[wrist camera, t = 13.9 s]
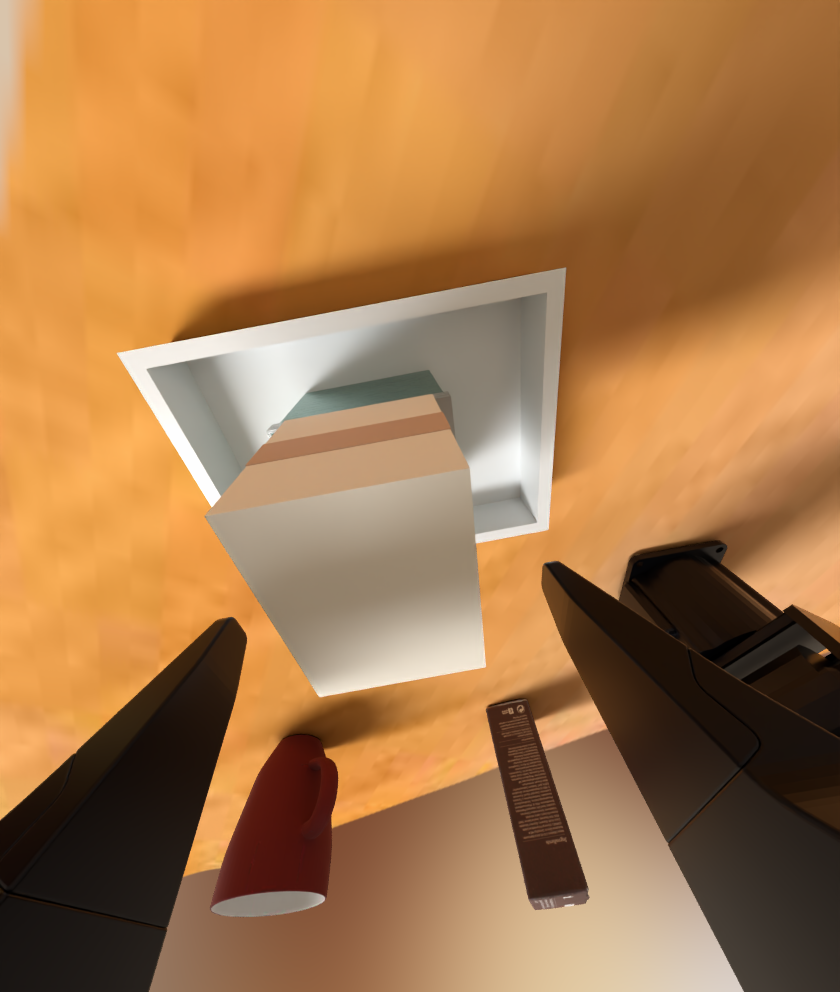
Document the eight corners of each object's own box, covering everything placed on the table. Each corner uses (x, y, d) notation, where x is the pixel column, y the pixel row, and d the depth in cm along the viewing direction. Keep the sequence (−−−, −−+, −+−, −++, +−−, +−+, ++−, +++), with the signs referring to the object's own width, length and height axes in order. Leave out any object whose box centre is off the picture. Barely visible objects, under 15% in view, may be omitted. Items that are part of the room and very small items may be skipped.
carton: (452, 545, 13) (486, 667, 8) (341, 565, 13) (318, 697, 9) (433, 393, 10) (471, 466, 5) (283, 420, 10) (202, 515, 5)
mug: (289, 703, 28) (247, 880, 19) (369, 721, 31) (364, 881, 22) (244, 753, 32) (193, 918, 23) (319, 765, 35) (298, 915, 26)
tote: (530, 273, 13) (566, 267, 10) (526, 498, 19) (548, 529, 16) (169, 342, 13) (116, 353, 10) (276, 545, 19) (259, 583, 16)
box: (481, 707, 31) (528, 903, 21) (526, 696, 31) (596, 890, 21) (490, 733, 35) (534, 915, 24) (531, 723, 34) (593, 903, 24)
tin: (446, 479, 17) (466, 539, 13) (340, 499, 17) (325, 566, 13) (431, 366, 14) (451, 396, 10) (302, 391, 14) (266, 431, 10)
